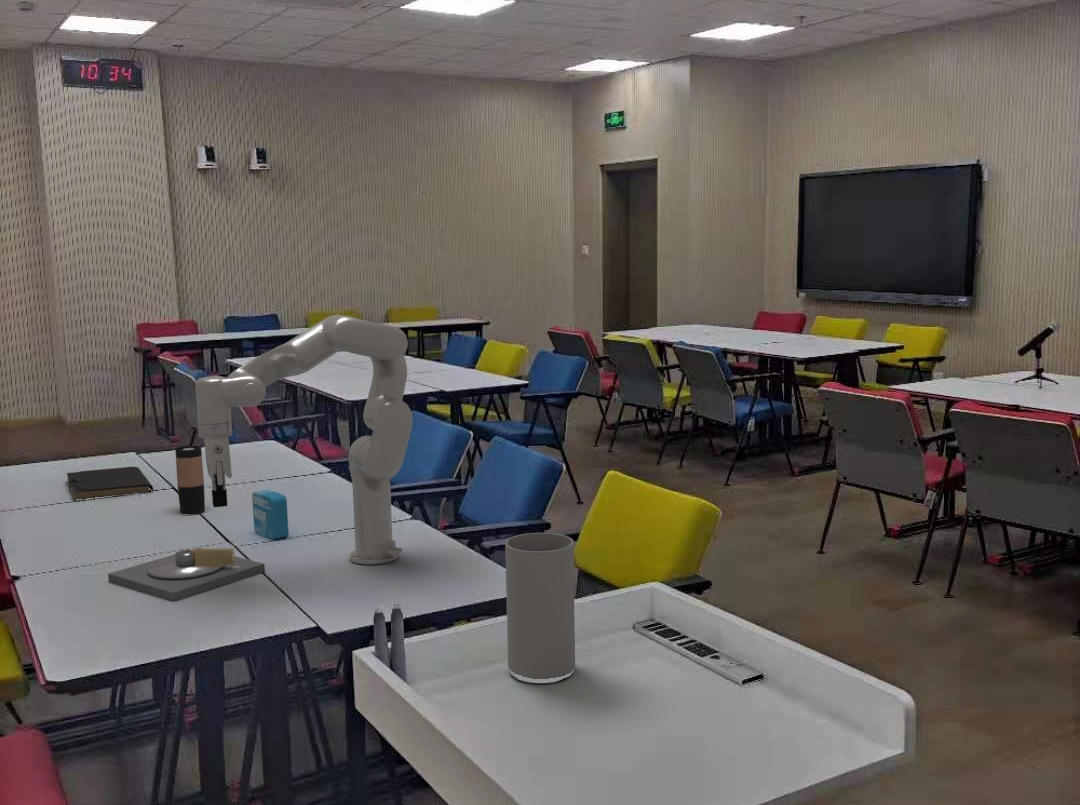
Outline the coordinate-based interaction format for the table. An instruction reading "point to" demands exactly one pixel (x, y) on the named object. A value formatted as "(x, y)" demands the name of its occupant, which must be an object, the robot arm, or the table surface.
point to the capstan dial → (191, 563)
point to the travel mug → (190, 479)
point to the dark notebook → (108, 482)
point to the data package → (270, 514)
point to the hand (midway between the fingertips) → (220, 505)
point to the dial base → (184, 587)
